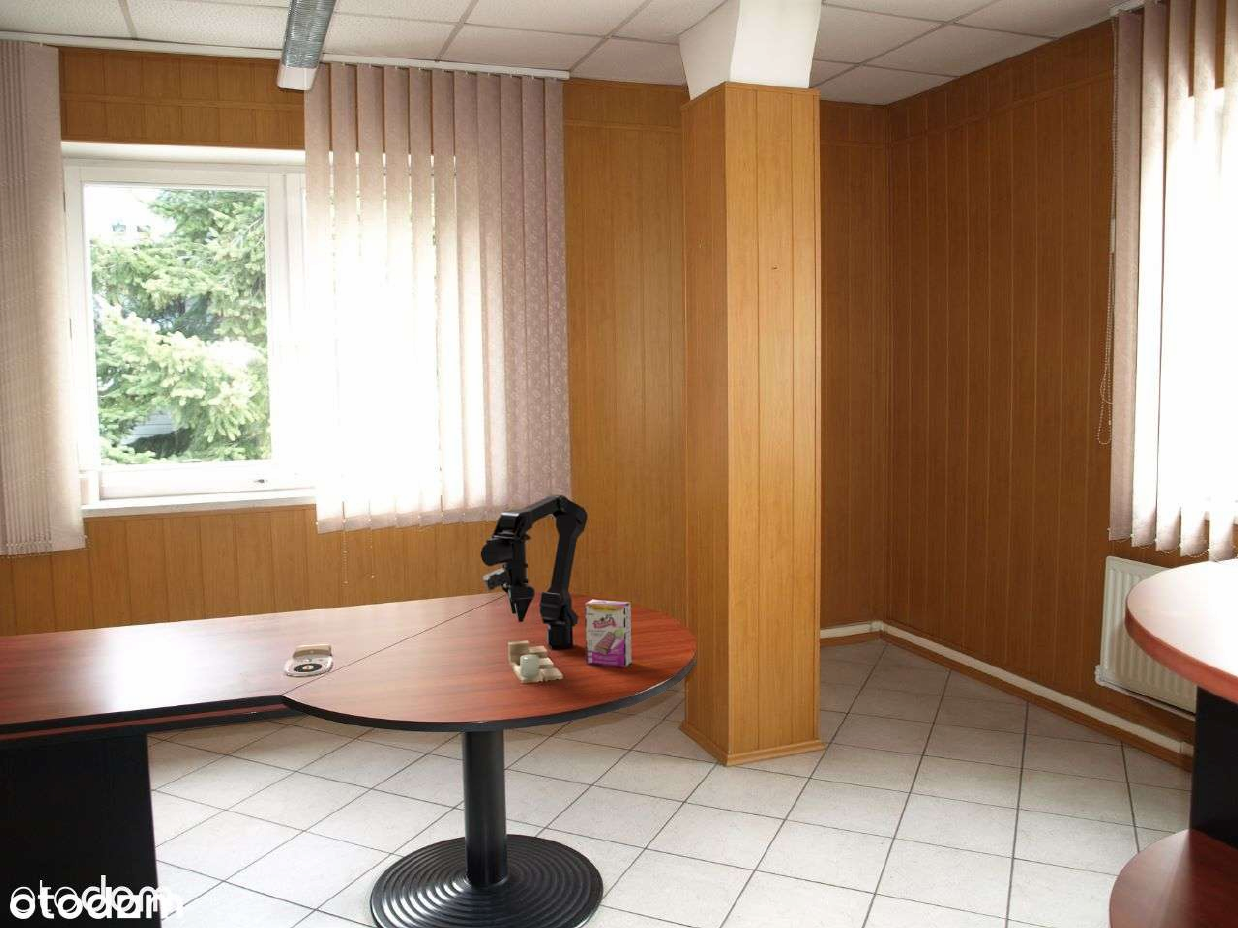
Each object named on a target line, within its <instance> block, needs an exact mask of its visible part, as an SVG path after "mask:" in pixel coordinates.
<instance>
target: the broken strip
mask: <svg viewBox="0 0 1238 928" xmlns="http://www.w3.org/2000/svg"><path fill="white" fill-rule="evenodd" d="M529 648H530V655H537V656H539V673H540V674H541V675H542V677H543V681H545V682H548V680H550V681H557V680H556V679H559V680H563V679H564V678H563V677H564V676H563V674H562V673H561V671H560V670H559V669H558V668H557V667H554V666H555V665H554V663H553V660H551V659H550V658H549V657H548V653H549V652H548V650H547V648H545V646H544V645H537V646H529Z"/></svg>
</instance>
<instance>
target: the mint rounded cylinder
mask: <svg viewBox="0 0 1238 928" xmlns="http://www.w3.org/2000/svg"><path fill="white" fill-rule="evenodd" d="M519 666H521V676H522V677H526V678H531V677H536V676H538V675H539V673H540V669H539V656H537V655H524V656H521V657H520V664H519Z"/></svg>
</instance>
